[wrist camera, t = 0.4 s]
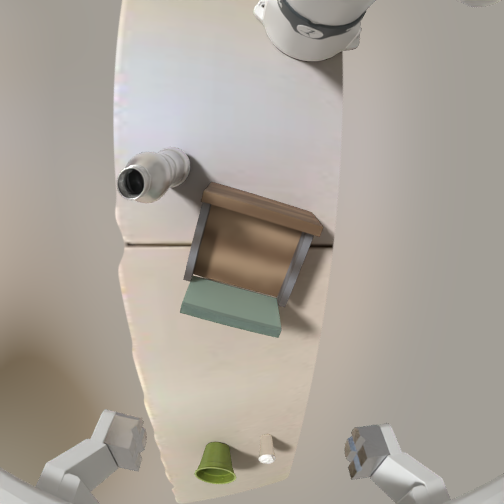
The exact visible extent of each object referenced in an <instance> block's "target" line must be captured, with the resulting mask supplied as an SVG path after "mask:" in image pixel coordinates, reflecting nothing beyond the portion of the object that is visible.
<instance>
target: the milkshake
mask: <svg viewBox="0 0 504 504" xmlns="http://www.w3.org/2000/svg"><path fill="white" fill-rule="evenodd" d="M259 461H260V462H261V463H268V464H269V463H272V462H274V461H275V453H274V448H273V442H272V436H271V435H270V434H263V435H262V436H261V438H260V451H259Z"/></svg>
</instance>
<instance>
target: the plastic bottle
mask: <svg viewBox="0 0 504 504" xmlns="http://www.w3.org/2000/svg"><path fill="white" fill-rule="evenodd" d="M189 171H190V161H189V158H188V156H187V155H186V153H185V152H183V151H182V150H181V149H179V148H176V147H167V148H164V149H162V150H161V151H159V152H158V153H155V152H141V153H139V154H137V155H135V156H134V157H132V158H131V159H130V161H129V162H128V163H127V165H126V167H125V169H124V170H122V171H121V172H120V174H119V175H118V178H117V189H118V192H119V193H120V195H121V196H122V197H123V198H125V199H128V200H135V201H137V202H141V203H152V202H155V201H157V200H159V199H160V198H161V197H162V196H163V195H164V194H165V193H166V192H167V190H168V189H169V188H171V187H176V186H178V185H180V184H182V183H183V182H184V181H185V179H186V178H187V176H188V174H189Z"/></svg>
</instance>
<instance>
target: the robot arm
mask: <svg viewBox="0 0 504 504" xmlns="http://www.w3.org/2000/svg"><path fill="white" fill-rule="evenodd" d="M375 1H376V0H260V1H259V2H258V4H257V5H256V6H255V8H254V11H253V13H254V15H255V17H256V18H257V19H258V20H259V21H260V22H262V23H263V25H264V27H265V30H266V32H267V35H268V37H269V39H270V40H271V41H272V43H273V44H274V45H275V46H276V47H277V48H278V49H279V50H281V51H282V52H283V53H285V54H287V55H289V56H291V57H293V58H296V59H299V60H304V61H321V60H325V59H328V58H331V57H333V56H334V55H336V54H338V53H339V52H341V51H345V50H353V49H356V48H357V47H358V45H359V36H360V32H361V27H360V24H361V22H360V21H361V20H362V18H363V16H364V14H365V13H366V10H367V9H368V8H369V7H370V6H371V5H372V4H373V3H374V2H375ZM457 1H459V2H461V3H464V4H466V5H468V6H471V7H486V6H490V5H493V4H496V3H498V2H499V1H501V0H457ZM262 6H264V8H263V7H262ZM142 426H143V420H142V418H140V417H135V416H131V415H127V414H123V413H118V412H115V411H111V410H106V409H105V410H104V411H103V412H102V414H101V416H100V419H99V421H98V423H97V425H96V428H95V430H94V432H93V435H92V437H91V439H86V440H84V441H83V442H81V443H79V444H78V445H76V446H74V447H73V448H71V449H69V450H68V451H66V452H64V453H63V454H61V455H59V456H58V457H56V458H54V459H52V460H51V461H49V462H47V463H46V465H45V467H44V469H43V471H42V474H41V476H40V478H39V480H38V482H37V485H36V487H35V486H32V485H30V484H29V483H27V482H25V481H23V480H21V479H19V478H17V477H16V476H14V475H12V474H10V473H9V472H7V471H5V470H4V469H2V468H0V504H99V502H98V500H97V499H96V498H95V497H94V496H93V494H92V493H91V491H92V490H93V489H94V488H95V487H97V486H98V485H99V484H100V483H102V482H103V481H104V480H105V479H106V478H107V477H109V476H110V475H111V474H112V473H113V472H115V471H116V470H117V469H118V467H120V468H125V469H129V470H134V471H139V468H140V464H141V460H142V457H141V455H140V453H141V452H142V451H143V450H145V446H146V438H147V436H146V430H145V429H144V428H143V427H142ZM351 434H352V436H351V437H350V438H348V439H347V441H346V443H345V456H346V459H347V460H348V461H349V462H351V463H350V465H349V467H348V469H349V472H350V476H351V479H352V480H353V479H360V478H367V477H370V479H371V480H372V481H373V482H375V484H376V485H377V486H379V488H381V489H382V490H383V491H384V492H385V493H386V494H387V495H388V496H389V497H390V498H391V499H392V500H393V501H394V502H395V503H396V504H504V474H502V475H500V476H498V477H497V478H495V479H493V480H491V481H489V482H487V483H485V484H484V485H482V486H480V487H478V488H476V489H474V490H472V491H469V492H467V493H465V494H463V495H461V496H459V497H456V498H454V499H452V500H451V499H450V496H449V494H448V491H447V489H446V486H445V484H444V482H443V480H442V477H440V476H439V475H437V474H436V473H434V472H433V471H431V470H430V469H428V468H427V467H425V466H424V465H423V464H421V463H420V462H418V461H417V460H415V459H414V458H412V457H411V456H410V455H408V454H407V453H406V452H402V451H401V449H400V446H399V444H398V441H397V439H396V437H395V434H394V432H393V430H392V427H391V425H390V424H389V423H386V424H380V425H371V426H363V427H355V428H354V429H353V430H352V432H351Z"/></svg>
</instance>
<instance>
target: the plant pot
mask: <svg viewBox="0 0 504 504" xmlns="http://www.w3.org/2000/svg"><path fill="white" fill-rule="evenodd" d="M195 476H196V477H197V478H198V479H200V480H202V481H204V482H207V483H212V484H227V483H231V482H233V481H234V480H235V479H236V475H235V474H234V471H233V468H232V462H231V456H230V449H229V447H228V446H227V445H226V444H222V443H220V442H211V443H209V444H207V445H206V448H205V451H204V454H203V457H202V460H201V463H200V465H199V466H198V469H197V470H196V471H195Z"/></svg>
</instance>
